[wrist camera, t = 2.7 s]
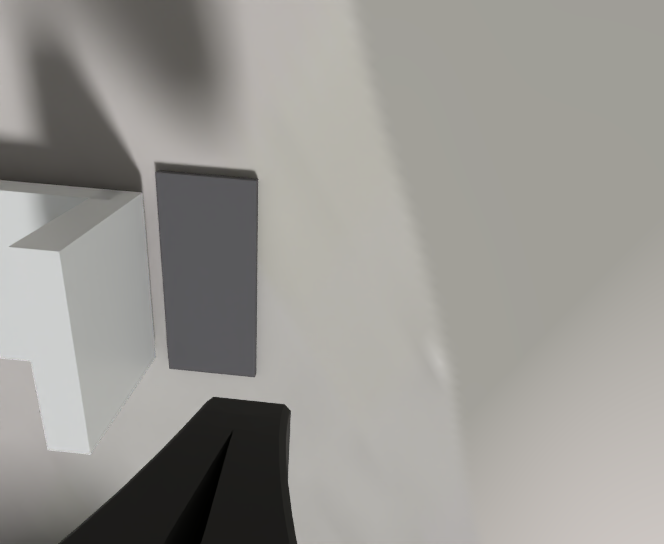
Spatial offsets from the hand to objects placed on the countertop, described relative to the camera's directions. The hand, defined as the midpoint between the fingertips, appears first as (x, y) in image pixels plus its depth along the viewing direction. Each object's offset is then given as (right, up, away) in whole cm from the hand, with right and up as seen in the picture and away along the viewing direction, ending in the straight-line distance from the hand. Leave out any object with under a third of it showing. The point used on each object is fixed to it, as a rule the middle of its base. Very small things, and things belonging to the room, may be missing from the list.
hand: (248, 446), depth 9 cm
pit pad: (-2, +3, +6) cm, 7 cm away
